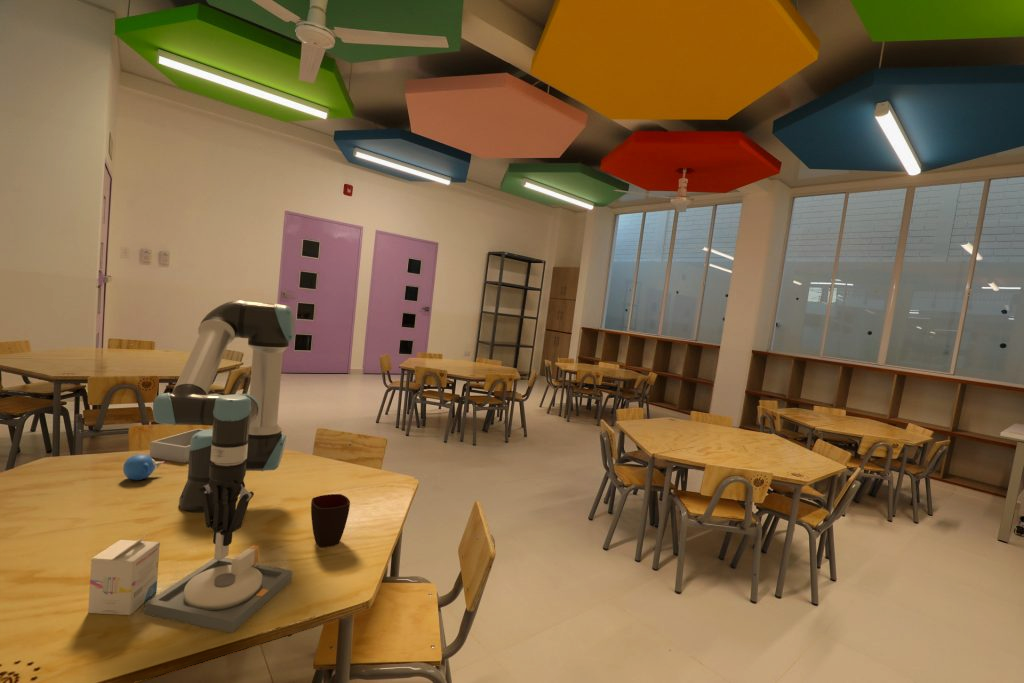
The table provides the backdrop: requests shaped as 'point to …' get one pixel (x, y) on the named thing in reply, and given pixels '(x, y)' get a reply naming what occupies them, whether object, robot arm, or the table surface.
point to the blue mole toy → (140, 466)
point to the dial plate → (226, 619)
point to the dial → (225, 583)
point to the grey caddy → (173, 447)
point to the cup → (329, 518)
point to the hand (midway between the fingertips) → (221, 557)
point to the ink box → (123, 577)
